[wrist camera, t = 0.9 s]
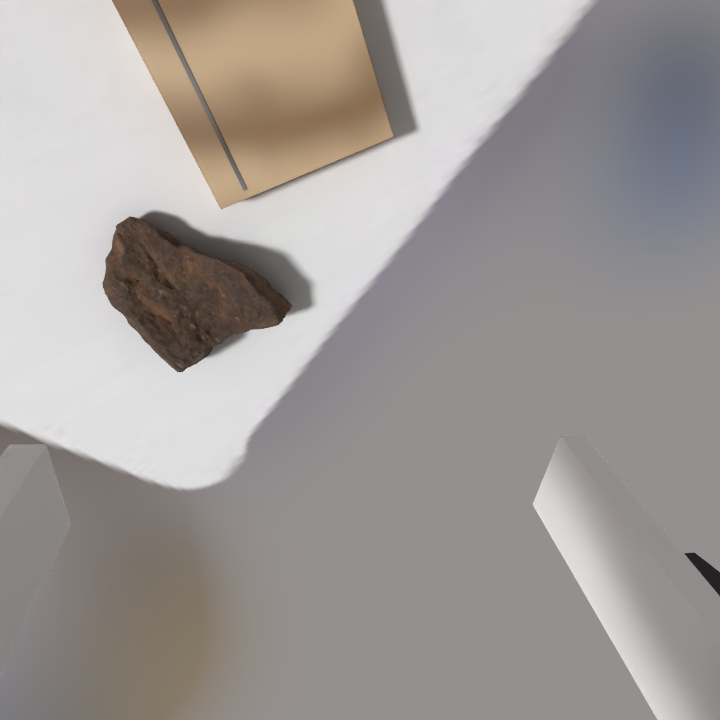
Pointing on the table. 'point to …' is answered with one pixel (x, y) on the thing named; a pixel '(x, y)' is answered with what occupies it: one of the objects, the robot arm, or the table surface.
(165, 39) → the board
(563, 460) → the robot arm
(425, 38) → the table surface
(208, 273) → the rock
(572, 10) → the table surface
